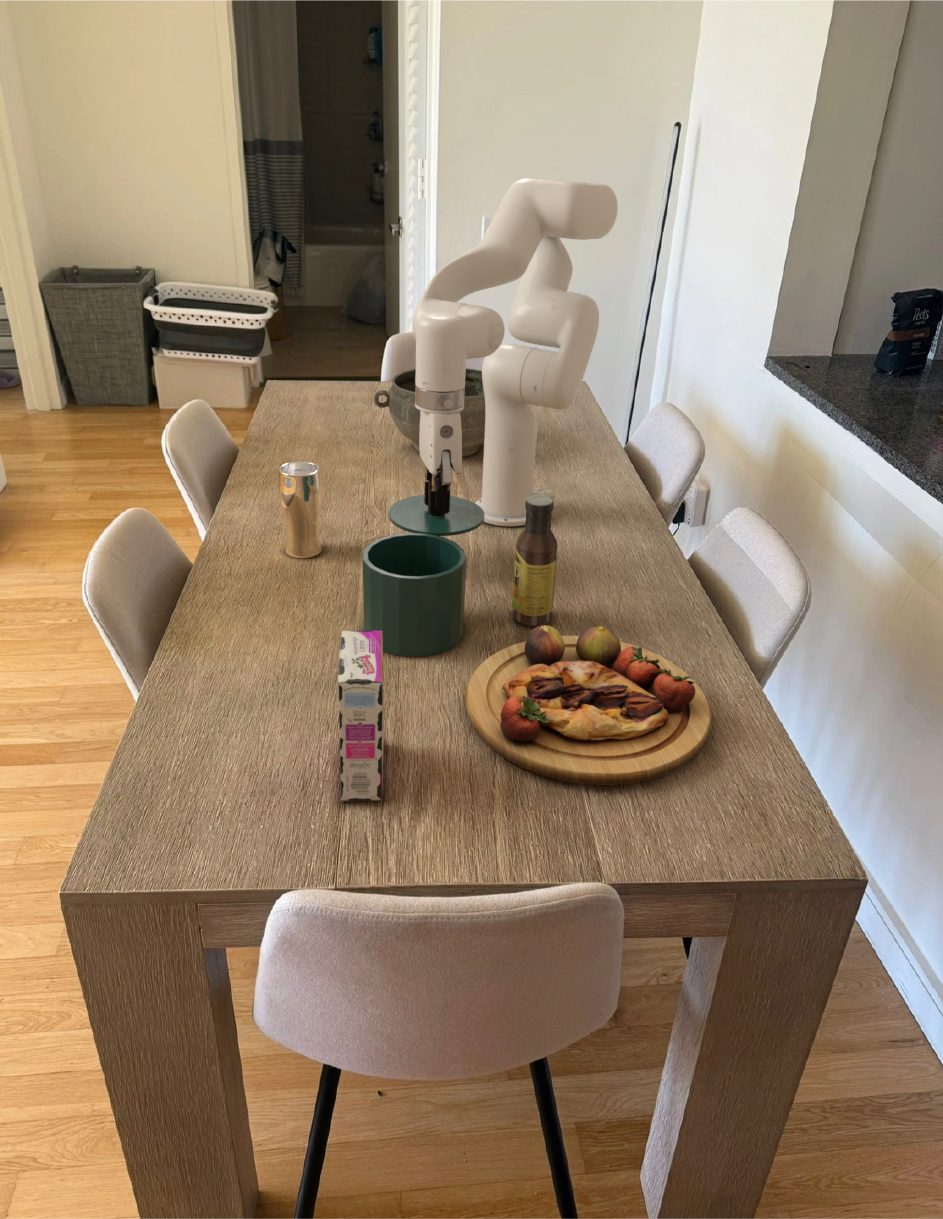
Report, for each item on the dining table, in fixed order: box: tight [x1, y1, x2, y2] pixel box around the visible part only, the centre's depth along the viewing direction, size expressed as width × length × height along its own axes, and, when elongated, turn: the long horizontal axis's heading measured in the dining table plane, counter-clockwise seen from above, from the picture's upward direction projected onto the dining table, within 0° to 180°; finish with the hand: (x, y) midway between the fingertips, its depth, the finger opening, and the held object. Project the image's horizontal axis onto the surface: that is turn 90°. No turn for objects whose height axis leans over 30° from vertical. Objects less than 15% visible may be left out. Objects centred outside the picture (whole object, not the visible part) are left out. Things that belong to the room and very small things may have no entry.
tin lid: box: [388, 478, 485, 537], centre depth 152 cm, size 16×16×7 cm
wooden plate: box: [464, 624, 713, 786], centre depth 122 cm, size 32×32×8 cm
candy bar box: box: [337, 630, 385, 802], centre depth 108 cm, size 11×5×16 cm, turn 5°
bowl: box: [373, 367, 485, 458], centre depth 206 cm, size 32×26×15 cm
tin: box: [361, 532, 467, 658], centre depth 138 cm, size 15×15×13 cm
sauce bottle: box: [511, 494, 558, 627], centre depth 140 cm, size 6×6×20 cm
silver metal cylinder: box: [278, 460, 323, 559], centre depth 159 cm, size 7×7×15 cm
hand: (436, 507), depth 153 cm, fingers closed on tin lid, 2 cm apart
